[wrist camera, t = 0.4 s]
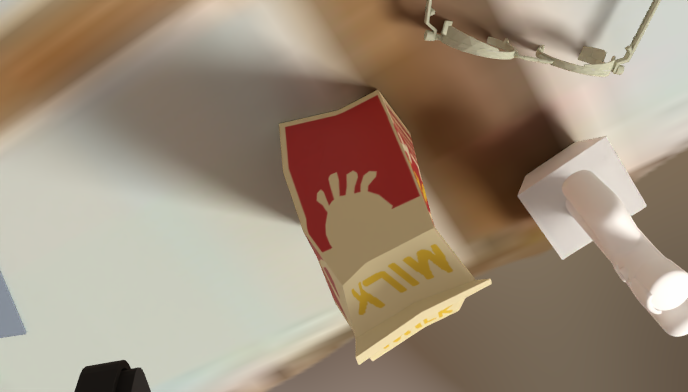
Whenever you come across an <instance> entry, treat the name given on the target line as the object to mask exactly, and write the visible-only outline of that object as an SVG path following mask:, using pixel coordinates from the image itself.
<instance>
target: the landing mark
mask: <svg viewBox="0 0 688 392" xmlns="http://www.w3.org/2000/svg"><path fill="white" fill-rule="evenodd" d="M23 334H26V330H25V328H24V326H23V323H22V321H21V319H20V316H19V314H18V312H17V309H16V307H15V304H14V302H13V300H12V297H11V295H10V293H9V290H8V288H7V286H6V283H5V281H4V279H3V276H2V274H1V271H0V338H3V337H10V336H17V335H23Z"/></svg>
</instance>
